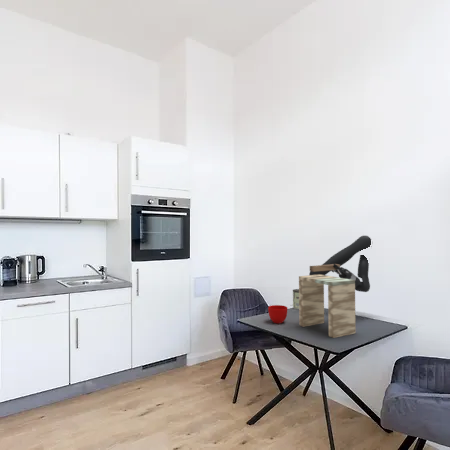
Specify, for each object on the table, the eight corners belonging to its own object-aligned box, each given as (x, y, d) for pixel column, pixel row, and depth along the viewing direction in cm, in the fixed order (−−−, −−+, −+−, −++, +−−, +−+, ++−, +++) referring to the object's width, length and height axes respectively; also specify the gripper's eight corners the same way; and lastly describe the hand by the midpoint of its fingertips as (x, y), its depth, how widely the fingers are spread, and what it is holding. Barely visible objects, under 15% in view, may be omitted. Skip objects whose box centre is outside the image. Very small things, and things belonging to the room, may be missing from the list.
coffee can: (304, 306, 279) (304, 288, 279) (307, 309, 268) (307, 291, 269) (291, 306, 279) (291, 289, 279) (294, 309, 268) (294, 291, 268)
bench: (299, 325, 225) (298, 276, 225) (319, 321, 234) (319, 274, 234) (333, 337, 199) (333, 282, 199) (355, 333, 207) (354, 280, 207)
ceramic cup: (286, 318, 243) (286, 304, 243) (288, 324, 226) (288, 309, 226) (267, 317, 244) (267, 303, 244) (268, 324, 227) (268, 309, 227)
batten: (309, 271, 222) (309, 266, 222) (335, 268, 233) (335, 264, 233) (314, 271, 218) (313, 266, 218) (340, 269, 229) (340, 264, 229)
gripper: (341, 270, 242) (325, 259, 235) (357, 272, 230) (341, 260, 223) (337, 279, 241) (321, 269, 234) (353, 282, 228) (337, 271, 221)
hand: (331, 265), depth 228 cm, fingers closed on batten, 4 cm apart
